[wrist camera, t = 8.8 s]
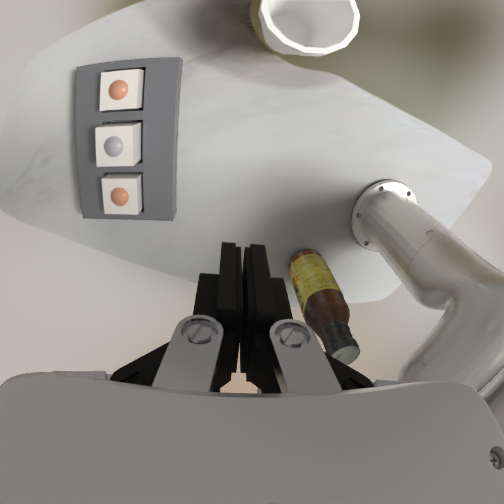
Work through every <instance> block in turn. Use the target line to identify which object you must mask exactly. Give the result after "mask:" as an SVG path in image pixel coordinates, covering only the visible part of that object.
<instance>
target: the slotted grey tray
mask: <svg viewBox="0 0 504 504" xmlns="http://www.w3.org/2000/svg"><path fill="white" fill-rule="evenodd" d="M182 64H183V60H182V59H181V58H180V57H172V58H148V59H134V60H123V61H114V62H106V63H99V64H92V65H86V66H80V67H77V78H76V113H75V116H76V152H77V167H78V179H79V189H80V198H81V207H82V214H83V218H90V219H133V220H163V221H173V220H174V217H175V214H176V171H177V138H178V117H179V101H180V87H181V75H182ZM133 69H146V74H145V88H144V108H143V109H139V110H120V111H110V110H105V111H100V84H101V73H103V72H111V71H121V70H133ZM124 120H143V158H142V159H141V160H140V161H138V162H137V163H136V164H135V165H134V166H108V167H97V164H96V137H95V128H96V127H99V126H102V125H105V124H110V121H124ZM110 172H143V197H144V207H143V208H142V210H141V211H140V213H139V214H138V215H131V214H105V213H104V203H103V192H102V178H103V177H104V176H106V175H107V174H108V173H110Z"/></svg>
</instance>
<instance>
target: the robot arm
mask: <svg viewBox="0 0 504 504" xmlns="http://www.w3.org/2000/svg"><path fill="white" fill-rule="evenodd" d="M379 187H380V188H379ZM351 224H352V230H353V234H354V236H355V238H356V239H357V241H358V242H359V243H360V244H361V245H362V246H363V247H364V248H366V249H368V250H370V251H374V252H379V253H380V254H381V256H382V257H383V258H384V259H385V261H386V262H387V263H388V264H389V266H390V267H391V268H392V270H393V271H394V272H395V273H396V275H397V276H398V277H399V279H400V280H401V281H402V283H403V284H404V285H405V287H406V288H407V289H408V291H409V292H410V293H411V295H412V296H413V297H414V298H415V299H416V301H417V302H419V303H420V304H421V305H423V306H425V307H427V308H431V309H435V310H446V311H445V313H444V315H443V316H442V317H441V319H440V320H439V321H438V323H437V324H436V326H435V327H434V328H433V329H432V330H431V331H430V333H429V334H428V335H427V336H426V337H425V339H423V341H422V342H421V343H420V344H419V345H418V346H417V347H416V348H415V350H414V351H413V352H412V353H411V354H410V355H409V356H408V357H407V359H406V360H405V361H404V363H403V364H402V366H401V368H400V370H399V374H398V381H386V380H376V381H375V382H374V383H372V382H371V381H370V380H369V379H368V378H367V377H365V376H364V375H362V374H360V373H359V372H357V371H355V370H354V369H352V368H350V367H349V366H347V365H345V364H344V363H342V362H340V361H339V360H337V359H335V358H334V357H332V356H330V355H329V354H327V353H325V352H324V351H323V349H322V348H321V345H320V344H319V341H318V339H317V337H316V335H315V333H314V331H313V330H312V329H311V327H309V326H308V325H307V324H305V323H303V322H301V321H298V320H294V319H293V317H292V313H291V308H290V304H289V300H288V295H287V291H286V287H285V283H284V279H283V278H271V277H270V272H269V266H268V261H267V255H266V249H265V245H257V244H251V245H250V248H249V247H245V251H244V260H243V270H242V266H241V247H236V243H228V242H222V247H221V259H220V271H219V274H206V273H200V275H199V281H198V287H197V293H196V299H195V305H194V311H193V315H192V316H189V317H186V318H184V319H183V320H181V321H180V322H179V324H178V325H177V327H176V329H175V331H174V334H173V336H172V338H171V341H170V342H168V343H166V344H164V345H163V346H161V347H159V348H157V349H155V350H153V351H151V352H150V353H148V354H146V355H144V356H142V357H140V358H138V359H137V360H135V361H133V362H131V363H129V364H127V365H125V366H123V367H122V368H120V369H118V370H117V371H115V372H114V373H113V374H106V372H105V371H87V372H83V371H81V372H80V371H78V372H76V371H75V372H73V371H53V372H34V373H25V374H21V375H17V376H14V377H11V378H9V379H8V380H6V381H5V382H4V383H3V384H2V385H1V386H0V504H504V372H503V373H502V374H501V375H500V376H499V377H498V378H497V379H496V380H495V381H494V382H493V383H492V384H491V385H490V386H489V387H488V388H487V389H486V390H485V391H484V392H482V393H481V394H479V393H478V392H479V391H480V390H481V389H482V388H483V387H484V386H485V385H486V384H487V383H488V382H490V381H491V380H492V379H493V378H494V377H495V376H496V375H497V374H498V373H499V371H501V369H502V368H503V367H504V273H503V272H502V271H500V270H499V269H497V268H496V267H494V266H493V265H491V264H490V263H489V262H487V261H486V260H484V259H483V258H482V257H481V256H479V255H478V254H477V253H476V252H474V251H473V250H472V249H471V248H470V247H468V246H467V245H466V244H465V243H464V242H462V241H461V240H460V239H459V238H457V236H455V235H454V234H453V233H452V232H450V231H449V230H448V229H447V228H446V227H445V226H443V225H442V224H441V223H440V222H438V221H437V220H436V219H435V218H433V217H432V216H431V215H430V214H428V213H427V212H426V211H424V210H423V209H422V208H420V207H419V206H418V202H417V199H416V196H415V194H414V193H413V191H412V190H411V189H410V188H409V187H408V186H406V185H405V184H403V183H401V182H399V181H395V180H384V181H381V182H378V183H376V184H374V185H372V186H371V187H369V188H368V189H366V191H365V192H364V193H363V194H362V195H361V196H360V197H359V199H358V200H357V202H356V204H355V206H354V209H353V213H352V219H351ZM239 343H240V368H241V369H240V370H241V373H246V381H247V382H248V381H249V382H252V383H253V384H254V385H256V386H257V387H258V390H257V391H258V394H248V393H247V394H246V393H220V388H221V387H222V386H224V385H225V384H227V383H228V382H229V381H231V373H236V369H237V359H238V352H239Z"/></svg>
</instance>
